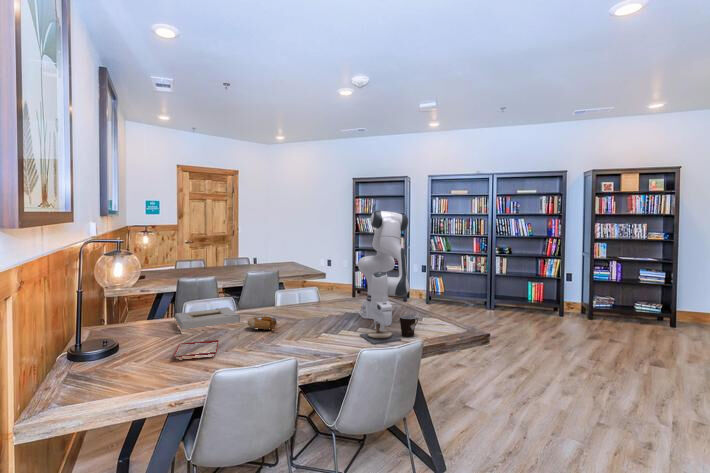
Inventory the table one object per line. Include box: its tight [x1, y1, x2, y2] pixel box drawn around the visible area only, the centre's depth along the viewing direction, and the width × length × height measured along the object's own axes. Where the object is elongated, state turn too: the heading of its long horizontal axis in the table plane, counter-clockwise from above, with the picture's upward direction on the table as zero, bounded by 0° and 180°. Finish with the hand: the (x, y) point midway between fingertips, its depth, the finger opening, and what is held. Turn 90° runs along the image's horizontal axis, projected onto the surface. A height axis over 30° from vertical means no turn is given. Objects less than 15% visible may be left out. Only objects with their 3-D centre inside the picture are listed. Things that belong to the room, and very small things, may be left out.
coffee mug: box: [399, 314, 419, 338], centre depth 208 cm, size 12×9×10 cm
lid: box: [366, 323, 393, 338], centre depth 203 cm, size 13×13×5 cm
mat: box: [359, 332, 402, 345], centre depth 203 cm, size 16×16×1 cm
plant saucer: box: [173, 339, 220, 358], centre depth 180 cm, size 18×18×3 cm
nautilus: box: [247, 314, 279, 333], centre depth 217 cm, size 8×22×15 cm
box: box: [174, 306, 241, 329], centre depth 228 cm, size 23×8×32 cm
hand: (379, 329), depth 203 cm, fingers closed on lid, 3 cm apart
